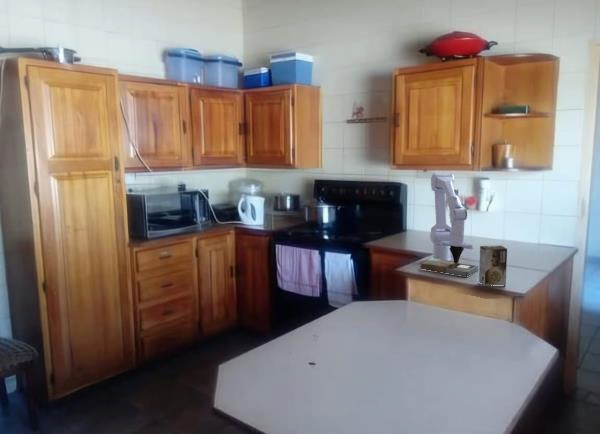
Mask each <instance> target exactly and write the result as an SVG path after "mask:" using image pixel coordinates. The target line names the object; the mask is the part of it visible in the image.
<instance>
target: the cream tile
mask: <svg viewBox="0 0 600 434" xmlns="http://www.w3.org/2000/svg"><path fill="white" fill-rule="evenodd" d="M457 270H460V271H468V270H470V266H465V265H459V266H457Z"/></svg>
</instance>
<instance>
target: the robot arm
mask: <svg viewBox="0 0 600 434" xmlns="http://www.w3.org/2000/svg"><path fill="white" fill-rule="evenodd" d="M454 183H455V176H454V174H453V173H452V172H450V173H432V174H431V178H430V187H431V191H433V192H434V205H435V207H434V208H435V224H434V225H433V226H432V227H430V234H429V235H430V236H429V238H430V241H431V243H432V244H433V255H432V258H436V259H442V260H449V261H454V263H460V262H459V260H460V257H461V255H462V253H463V251H464V250H465V249H467V250H474V244H469V243H465V242H464V241H465V240H464V237H465V221H466V220H467V218H468V210H467V208H466V207H465V206H464V205H462V202H461V200H460V198H459V196H458V195H456V193H455V190H454ZM446 197H447V199H446ZM446 204H447V207H448V209H449V215H448V216H449V220H450V221H449V223H450V225H451V226H450V225H448V224H447V214H446V213H447V212H446ZM451 256H452V258H451Z"/></svg>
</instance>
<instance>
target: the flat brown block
mask: <svg viewBox="0 0 600 434" xmlns="http://www.w3.org/2000/svg"><path fill="white" fill-rule="evenodd" d="M434 259H436V258H434ZM456 267H457V263H454V260H450V261H449V260H442V259H441V262H440V264H439V265H430V264H427V260H425V261H423V262H421V263H420V269H426V270H431V271H437V272H443V273H446V268H447V269H454V268H456Z"/></svg>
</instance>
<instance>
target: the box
mask: <svg viewBox="0 0 600 434" xmlns="http://www.w3.org/2000/svg"><path fill="white" fill-rule="evenodd" d="M459 265H465V266H470V270H468V271H460V270H457V267H456V268H454V269H447V268H446V273H449V274H454V275H461V276H466V277H467V276H469V275H471V274H472V275H474V274H475V272H476V271H477V272H479V266H478V265H475V264H467V263H461V262H458V263H457V266H459ZM477 272H476V273H477ZM473 273H474V274H473ZM454 275H453V276H454ZM472 275H471V276H472ZM466 277H465V278H466ZM469 277H470V276H469ZM467 278H468V277H467Z"/></svg>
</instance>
